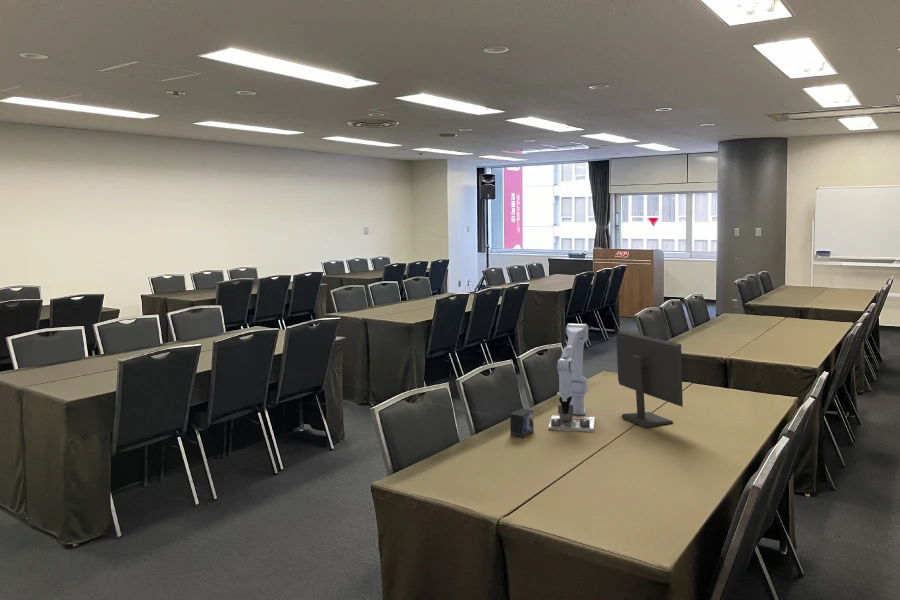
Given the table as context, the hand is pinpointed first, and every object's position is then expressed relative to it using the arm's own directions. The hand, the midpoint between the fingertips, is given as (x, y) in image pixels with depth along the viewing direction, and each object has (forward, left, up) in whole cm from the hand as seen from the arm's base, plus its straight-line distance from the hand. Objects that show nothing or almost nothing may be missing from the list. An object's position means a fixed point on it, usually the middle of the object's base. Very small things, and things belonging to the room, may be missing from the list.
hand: (565, 412), depth 315 cm
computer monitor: (-9, +37, -5) cm, 38 cm away
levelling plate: (+2, +3, -5) cm, 6 cm away
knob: (0, +2, -3) cm, 4 cm away
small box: (+19, -18, -6) cm, 27 cm away
